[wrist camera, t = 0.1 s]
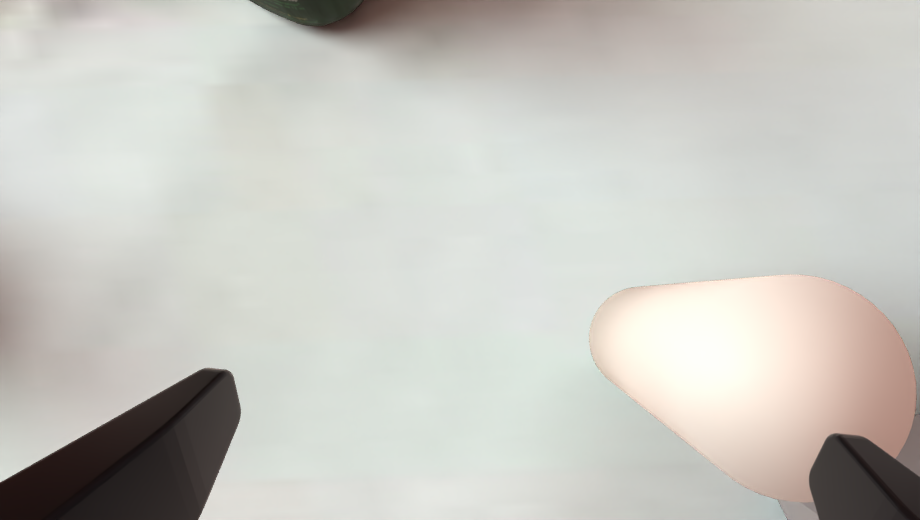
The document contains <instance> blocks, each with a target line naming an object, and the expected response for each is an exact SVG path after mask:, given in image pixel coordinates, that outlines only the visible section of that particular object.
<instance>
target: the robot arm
mask: <svg viewBox="0 0 920 520" xmlns="http://www.w3.org/2000/svg"><path fill="white" fill-rule="evenodd" d="M240 415H241V407H240V403H239V398H238V394H237V390H236V385H235V381H234V377H233V375H232V373H231V372H230V371H228V370H224V369H214V368H204V369H201V370H199V371H197V372H196V373H194V374H192V375H190V376H188V377H187V378H185V379H183V380H181V381H180V382H178V383H176V384H174V385H172V386H171V387H169V388H167V389H165V390H164V391H162V392H160V393H158V394H157V395H155V396H153V397H151V398H149V399H148V400H146V401H144V402H142V403H141V404H139V405H137V406H135V407H133V408H132V409H130V410H128V411H126V412H125V413H123V414H121V415H119V416H118V417H116V418H114V419H112V420H110V421H109V422H107V423H105V424H103V425H102V426H100V427H98V428H96V429H94V430H93V431H91V432H89V433H87V434H86V435H84V436H82V437H80V438H79V439H77V440H75V441H73V442H71V443H70V444H68V445H66V446H64V447H63V448H61V449H59V450H57V451H55V452H54V453H52V454H50V455H48V456H47V457H45V458H43V459H41V460H39V461H38V462H36V463H34V464H32V465H31V466H29V467H27V468H25V469H23V470H22V471H20V472H18V473H16V474H15V475H13V476H11V477H9V478H8V479H6V480H4V481H2V482H0V520H198V519H199V517H200V515H201V513H202V511H203V508H204V506H205V504H206V502H207V499H208V497H209V495H210V492H211V490H212V487H213V485H214V482H215V480H216V477H217V475H218V473H219V470H220V468H221V465H222V463H223V460H224V458H225V456H226V453H227V451H228V448H229V446H230V443H231V441H232V438H233V436H234V434H235V431H236V429H237V426H238V424H239V420H240ZM809 487H810V491H811V494H812V498H813V501H814V505H815V508H816V511H817V515H818V518H819V520H920V476H918V475H917V474H916V473H914V472H913V471H911V470H910V469H909V468H907V467H906V466H905V465H903V464H902V463H900V462H899V461H898V460H896V459H895V458H894V457H892V456H891V455H889V454H888V453H887V452H885V451H884V450H882V449H881V448H880V447H878V446H877V445H876V444H874V443H873V442H871V441H870V440H868V439H867V438H865V437H863V436H859V435H850V434H841V433H833V434H831V435H829V436H828V437H827V438H826V439H825V441H824V443H823V445H822V447H821V449H820V451H819V453H818V455H817V457H816V460H815V462H814V464H813V466H812V468H811V470H810V474H809Z"/></svg>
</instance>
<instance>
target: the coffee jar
mask: <svg viewBox="0 0 920 520" xmlns="http://www.w3.org/2000/svg"><path fill="white" fill-rule="evenodd" d="M250 1H252V2H253V3H255V4H257V5H259V6H261V7H262V8H264V9H266V10H268V11H270V12H272V13H275V14H277V15H279V16H281V17H284V18H286V19H289V20H291V21H294V22H296V23H299V24H303V25H311V26H323V25H327V24H329V23H332V22H336V21H338V20H340V19H342V18H344V17H346V16H347V15H349V14H350V13H351V12H352V11H354V10H355V9H356V8H357V7H358V6H359V5H360V4H361V3H362V2H363V0H250Z"/></svg>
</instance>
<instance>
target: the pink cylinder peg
mask: <svg viewBox="0 0 920 520" xmlns="http://www.w3.org/2000/svg"><path fill="white" fill-rule="evenodd" d="M589 345H590V350H591V354H592V357H593V360H594V362H595V364H596V365H597V367H598V369H599V370H600V371H601V373H602V374H603V375H604V376H605V377H606V378H607V379H608V380H609V381H611V382H612V383H613V384H614V385H616V386H617V387H618V388H619V389H621V390H622V391H623V392H624V393H626V394H627V395H628V396H629V397H631V398H632V399H633V400H634V401H636V402H637V403H638V404H639V405H641V406H642V407H643V408H644V409H645V410H647V411H648V412H649V413H650V414H652V415H653V416H654V417H655V418H657V419H658V420H659V421H660V422H662V423H663V424H664V425H665V426H667V427H668V428H669V429H670V430H672V431H673V432H674V433H675V434H677V435H678V436H679V437H680V438H682V439H683V440H684V441H685V442H687V443H688V444H689V445H690V446H692V447H693V448H694V449H695V450H697V451H698V452H699V453H700V454H701V455H703V456H704V457H705V458H706V459H708V460H709V461H710V462H711V463H713V464H714V465H715V466H716V467H718V468H719V469H720V470H721V471H723V472H724V473H725V474H726V475H728V476H729V477H730V478H731V479H733V480H734V481H736V482H738V483H739V484H741V485H742V486H744V487H746V488H748V489H750V490H752V491H754V492H757V493H759V494H761V495H765V496H768V497H771V498H774V499H779V500H784V501H790V502H814V501H813V498H812V494H811V491H810V487H809V474H810V470H811V468H812V466H813V464H814V462H815V460H816V457H817V455H818V453H819V451H820V449H821V447H822V445H823V443H824V441H825V439H826V438H827V437H828V436H829V435H831V434H833V433H841V434H850V435H859V436H863V437H865V438H867V439H868V440H870V441H871V442H873V443H874V444H876V445H877V446H878V447H880V448H881V449H882V450H884V451H885V452H887V453H888V454H889V455H891V456H892V457H894V458H896V457H897V456H898V454H899V452H900V451H901V449H902V447H903V446H904V444H905V442H906V440H907V437H908V435H909V433H910V430H911V427H912V423H913V419H914V415H915V408H916V381H915V375H914V369H913V366H912V362H911V359H910V356H909V353H908V351H907V349H906V347H905V344H904V342H903V340H902V338H901V337H900V335H899V334H898V332H897V330H896V329H895V327H894V326H893V325H892V324H891V322H890V321H889V320H888V319H887V317H886V316H885V315H884V314H883V313H882V312H881V311H880V310H879V309H878V308H877V307H876V306H875V305H873V304H872V303H871V302H870V301H868V300H867V299H865V298H864V297H863V296H861V295H860V294H858V293H856V292H855V291H853V290H851V289H849V288H848V287H845V286H843V285H840V284H838V283H836V282H833V281H830V280H826V279H823V278H819V277H814V276H807V275H775V276H763V277H751V278H739V279H726V280H714V281H702V282H690V283H677V284H665V285H653V286H641V287H632V288H628V289H624V290H622V291H619V292H617V293H615V294H613V295H612V296H611V297H609V298H608V299H607V300H606V301H605V302H604V303H603V304H602V305H601V306H600V307H599V309H598V310H597V312H596V313H595V315H594V317H593V320H592V323H591V326H590V332H589Z"/></svg>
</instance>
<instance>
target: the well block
mask: <svg viewBox="0 0 920 520" xmlns="http://www.w3.org/2000/svg"><path fill="white" fill-rule="evenodd" d="M895 459H896V460H898V461H899V462H900V463H902V464H903V465H905V466H906V467H907V468H909V469H910V470H911V471H913V472H914V473H916V474H917V475H918V476H920V414H918V415H915V416H914V419H913V423H912V427H911V430H910V433H909V435H908V437H907V440H906V442H905V444H904V446H903V447H902V449H901V451H900V452H899V454H898V456H897V457H896V458H895ZM777 500H778V502H779V504H780V506H781V508H782V510H783V512H784V514H785V516H786V518H787V520H819V518H818V515H817V511H816V508H815V505H814V502H790V501H784V500H779V499H777Z"/></svg>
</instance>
